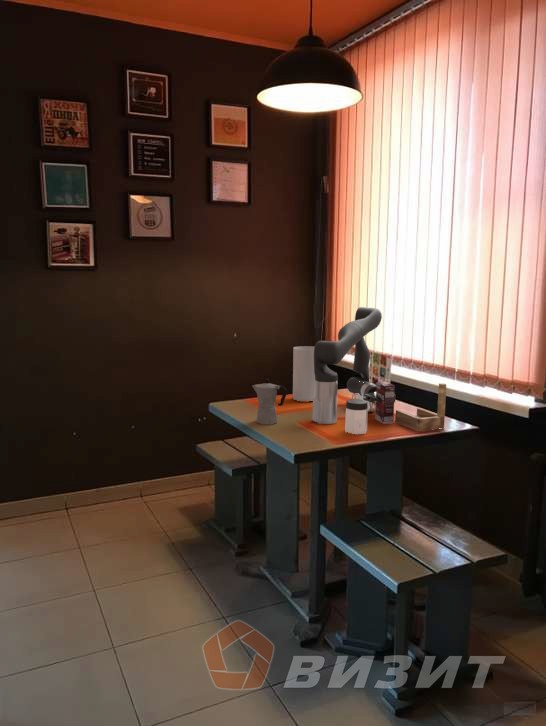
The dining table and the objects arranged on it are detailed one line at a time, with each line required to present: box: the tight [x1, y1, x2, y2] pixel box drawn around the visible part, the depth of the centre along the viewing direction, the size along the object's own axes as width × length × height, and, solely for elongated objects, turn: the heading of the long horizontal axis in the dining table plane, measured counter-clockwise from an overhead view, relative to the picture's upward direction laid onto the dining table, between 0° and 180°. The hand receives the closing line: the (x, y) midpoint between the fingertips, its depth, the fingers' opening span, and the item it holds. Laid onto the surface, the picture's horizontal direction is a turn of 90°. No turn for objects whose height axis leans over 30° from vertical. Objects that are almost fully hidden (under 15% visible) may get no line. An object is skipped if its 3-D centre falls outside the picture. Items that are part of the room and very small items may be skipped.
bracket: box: [394, 382, 447, 432], centre depth 241 cm, size 12×16×18 cm
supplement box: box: [374, 381, 396, 425], centre depth 248 cm, size 9×5×16 cm, turn 14°
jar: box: [344, 398, 369, 435], centre depth 232 cm, size 9×8×12 cm
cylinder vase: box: [292, 345, 315, 402], centre depth 286 cm, size 12×12×25 cm
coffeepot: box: [251, 378, 288, 425], centre depth 245 cm, size 15×9×18 cm, turn 67°
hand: (387, 401), depth 245 cm, fingers closed on supplement box, 5 cm apart
